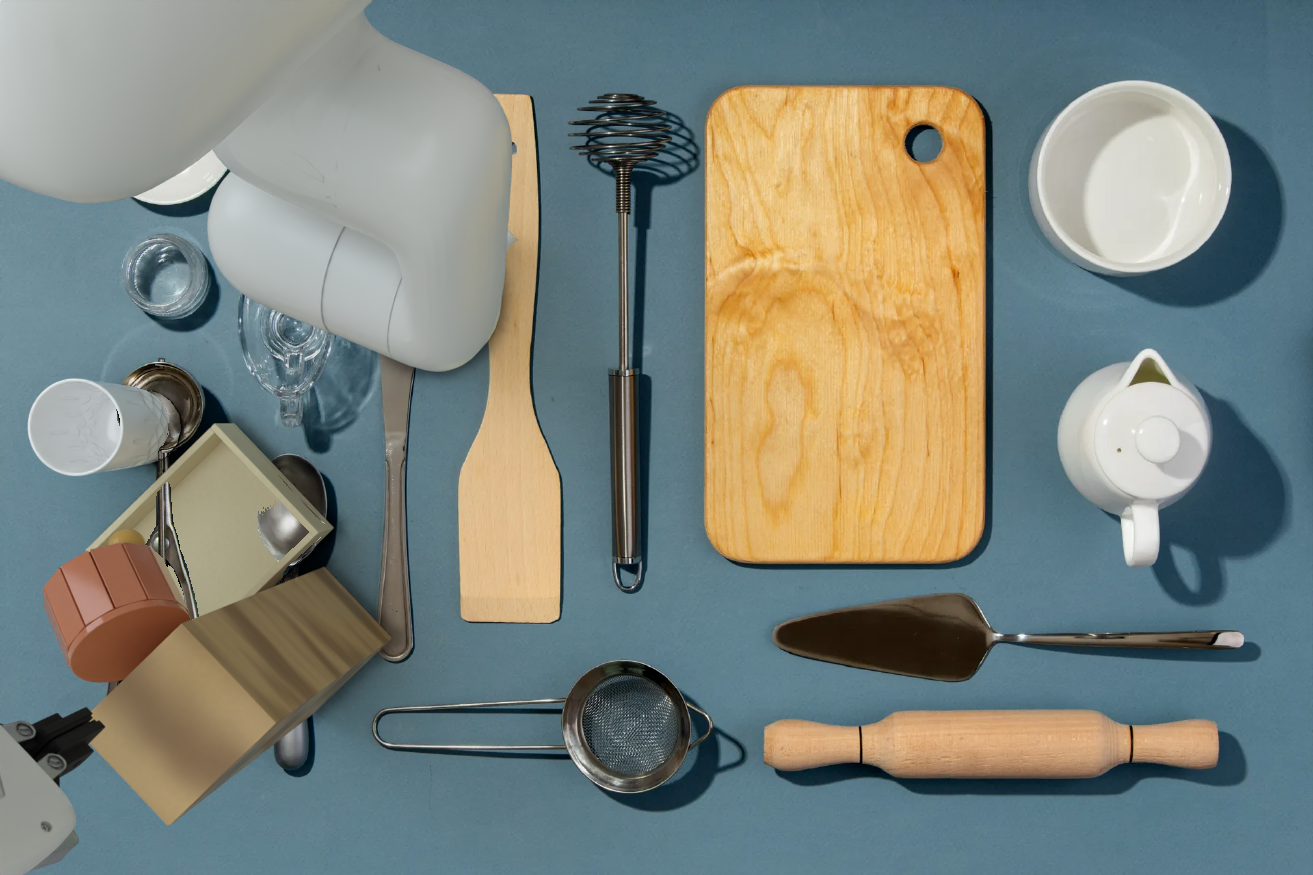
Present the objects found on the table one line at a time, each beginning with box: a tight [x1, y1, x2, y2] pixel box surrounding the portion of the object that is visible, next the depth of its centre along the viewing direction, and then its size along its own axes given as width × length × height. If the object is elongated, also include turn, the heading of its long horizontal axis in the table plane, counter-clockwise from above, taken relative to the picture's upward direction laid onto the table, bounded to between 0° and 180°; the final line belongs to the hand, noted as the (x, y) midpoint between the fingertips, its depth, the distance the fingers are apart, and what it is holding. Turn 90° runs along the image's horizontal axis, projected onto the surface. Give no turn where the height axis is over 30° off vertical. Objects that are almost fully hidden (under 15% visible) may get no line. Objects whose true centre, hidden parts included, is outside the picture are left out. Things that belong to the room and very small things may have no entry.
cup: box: [42, 542, 191, 684], centre depth 65 cm, size 8×8×6 cm
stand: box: [89, 566, 392, 827], centre depth 73 cm, size 10×9×24 cm
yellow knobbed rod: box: [108, 529, 145, 545], centre depth 66 cm, size 2×2×8 cm
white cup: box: [27, 377, 171, 477], centre depth 80 cm, size 8×8×10 cm
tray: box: [84, 422, 334, 616], centre depth 83 cm, size 16×13×4 cm
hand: (78, 734), depth 54 cm, fingers closed
